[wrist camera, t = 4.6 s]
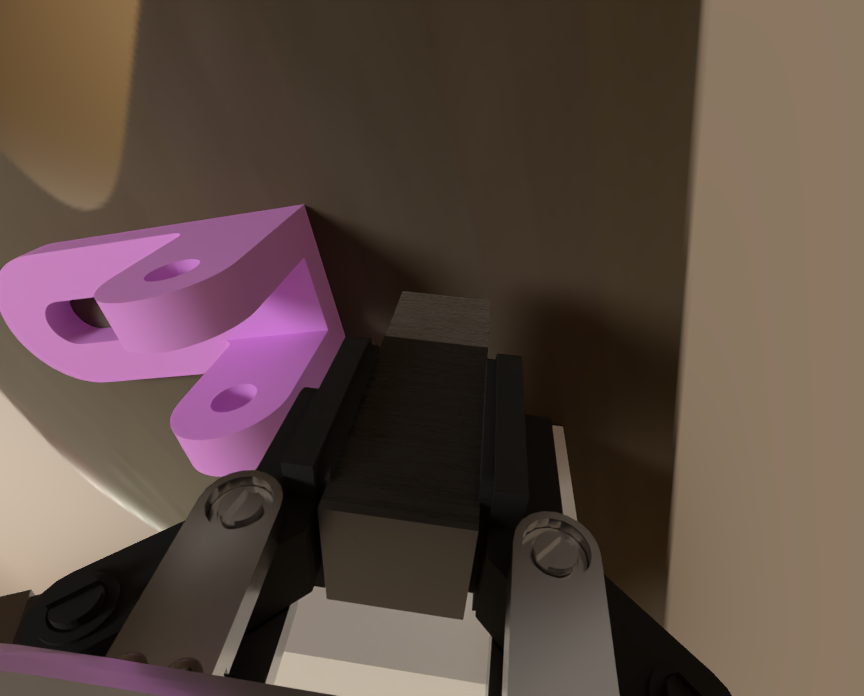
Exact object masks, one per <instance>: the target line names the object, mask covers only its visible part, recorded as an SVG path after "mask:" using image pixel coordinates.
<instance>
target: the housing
mask: <svg viewBox="0 0 864 696" xmlns="http://www.w3.org/2000/svg"><path fill="white" fill-rule="evenodd" d="M552 427H553V435H554V443H555V452H556V460H557V468H558V476H559V484H560V492H561V500H562V508H563V514H564V515H567V516H569V517H571V518H573V519H574V520H576V521H577V516H576V509H575V503H574V496H573V489H572V483H571V476H570V470H569V463H568V456H567V450H566V443H565V437H564V430H563V426H555V425H552ZM472 600H473V593H469V592H468V595H467V601H466V606H465V612H464V618H463V620H459V619H453V618H446V617H440V616H433V615H427V614H420V613H414V612H407V611H401V610H394V609H388V608H382V607H375V606H369V605H362V604H356V603H349V602H343V601H336V600H330V599H327V598H326V588H322V587H316V586H314V588H313V591H312V592H311V593H309V594H307V595H306V596H304V597H303V598H301V599H299V600H298V606H297V610H296V614H295V617H294V620H293V623H292V627H291V630H290V633H289V636H288V640H287V643H286V646H285V650H284V653H283V656H282V659H281V663H280V666H279V669H278V672H277V676H276V679H275V682H274V685H277V686H283V687H289V688H295V689H301V690H307V691H313V692H319V693H325V694H331V695H336V696H485V688H486V674H487V660H488V646H489V636H490V634H489V633H488V632H487V630H486V629H485V628H484V627H483V625H482V624H481V623H480V622H479V621H478V619H477V618H476V617H475V613H476V611H472Z"/></svg>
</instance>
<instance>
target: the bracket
mask: <svg viewBox="0 0 864 696" xmlns="http://www.w3.org/2000/svg"><path fill="white" fill-rule="evenodd" d="M92 297H94V298H95V300H96V302H97V303H98V305H99V307H100V308H101V310H102V312H103V313H104V315H105V317H106V319H107V320H108V322H109V324H110V325H111V327H110V328H96V327H93V326H90V325H88V324H87V323H85V322H83V321H82V320H81V319H80V318H79V317H78V316H77V315H76V314H75V313H74V311H73V310H72V308H71V305H70V301H69V300H76V299H84V298H92ZM0 312H1V314H2V316H3V318H4V320H5V322H6V324H7V325H8V327H9V328H10V330H11V331H12V333H13V334H14V335H15V336H16V338H17V339H18V340H19V341H20V342H21V343H22V344H23V345H24V346H25V347H26V348H27V349H28V350H29V351H30V352H31V353H32V354H34V355H35V356H36V357H37V358H39V359H40V360H42V361H43V362H44V363H46V364H47V365H49V366H51V367H52V368H54V369H56V370H58V371H60V372H62V373H64V374H67V375H69V376H72V377H75V378H78V379H81V380H85V381H91V382H113V381H125V380H137V379H149V378H161V377H172V376H184V375H196V374H204V375H203V376H202V377H201V378H200V380H199V381H198V382H197V383H196V384H195V385H194V386H193V387H192V389H191V390H190V391H189V392H188V393H187V394H186V395H185V397H184V398H183V399H182V400H181V401H180V402H179V403H178V405H177V406H176V408H175V409H174V411H173V413H172V415H171V418H170V426H171V429H172V431H173V432H174V434H175V436H176V438H177V439H178V441H179V443H180V444H181V446H182V448H183V449H184V451H185V453H186V455H187V456H188V458H189V460H190V461H191V463H192V465H193V466H194V468H195V469H196V470H198V471H199V472H201V473H203V474H206V475H210V476H219V477H220V476H226V475H228V474H230V473H234V472H238V471H243V470H254V469H257V467H258V465H259V464H260V462H261V460H262V458H263V456H264V455H265V453H266V451H267V449H268V448H269V446H270V444H271V442H272V441H273V439H274V437H275V435H276V433H277V432H278V430H279V428H280V426H281V425H282V423H283V421H284V419H285V417H286V416H287V414H288V412H289V410H290V409H291V407H292V405H293V403H294V402H295V400H296V398H297V396H298V394H299V393H300V391H301V390H302V389H303V388H305V387H310V388H318V389H319V387H320V385H321V383H322V381H323V379H324V377H325V375H326V373H327V371H328V369H329V367H330V366H331V364H332V362H333V360H334V358H335V356H336V354H337V352H338V350H339V348H340V346H341V344H342V342H343V340H344V338H345V334H344V330H343V327H342V324H341V321H340V318H339V314H338V311H337V308H336V305H335V302H334V298H333V295H332V292H331V289H330V286H329V282H328V279H327V276H326V273H325V270H324V266H323V263H322V260H321V257H320V254H319V250H318V247H317V244H316V241H315V238H314V234H313V231H312V228H311V225H310V222H309V218H308V215H307V212H306V209H305V206H304V204H303V205H297V206H290V207H284V208H277V209H271V210H264V211H258V212H251V213H245V214H238V215H232V216H225V217H219V218H212V219H206V220H200V221H193V222H187V223H180V224H174V225H167V226H161V227H154V228H148V229H141V230H135V231H128V232H122V233H115V234H109V235H102V236H96V237H90V238H83V239H77V240H70V241H64V242H57V243H51V244H47V245H44V246H42V247H39V248H37V249H35V250H33V251H31V252H29V253H26V254H24V255H22V256H20V257H18V258H15V259H13V260H12V261H10V262H8V263H7V264H6V265H5V266H4V267H3V268H2V269H1V271H0Z"/></svg>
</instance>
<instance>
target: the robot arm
mask: <svg viewBox="0 0 864 696" xmlns="http://www.w3.org/2000/svg"><path fill="white" fill-rule="evenodd" d="M379 353H380V352H379V346H376V345H372V342H371V339H370V338H361V337H353V336H346V337H345V338H344V340H343V342H342V344H341V346H340V348H339V350H338V352H337V354H336V356H335V358H334V360H333V362H332V364H331V366H330V367H329V369H328V371H327V373H326V375H325V377H324V379H323V381H322V383H321V385H320V387H319V389H318V388H310V387H305V388H303V389H302V390H301V391H300V393H299V394H298V396H297V398H296V400H295V402H294V403H293V405H292V407H291V409H290V410H289V412H288V414H287V416H286V417H285V419H284V421H283V423H282V425H281V426H280V428H279V430H278V432H277V433H276V435H275V437H274V439H273V441H272V442H271V444H270V446H269V448H268V449H267V451H266V453H265V455H264V456H263V458H262V460H261V462H260V464H259V465H258V467H257V469H256V470H243V471H238V472H234V473H230V474H228V475H226V476H223V477H221V478H219V479H217V480H216V481H215V482H213V483H212V484H211V485H209V486H208V487H207V488H206V489H205V490H204V492H203V493H202V494H201V495H200V497H199V498H198V500H197V501H196V503H195V505H194V506H193V508H192V510H191V512H190V513H189V515H188V517H187V518H186V520H185V521H183V522H181V523H179V524H176V525H174V526H172V527H170V528H168V529H166V530H163V531H161V532H159V533H157V534H155V535H153V536H150V537H148V538H146V539H144V540H142V541H140V542H137V543H135V544H133V545H131V546H129V547H126V548H124V549H122V550H120V551H118V552H116V553H113V554H111V555H109V556H107V557H105V558H103V559H100V560H98V561H96V562H94V563H92V564H90V565H87V566H85V567H83V568H81V569H79V570H76V571H74V572H73V573H70V574H69V575H67V576H65V577H64V578H62V579H60V580H58V581H56V582H55V583H54V584H53V585H52V586H51V587H49V588H48V589H47V590H46V591H44V592H43V593H42V594H40V595H34V593H33V592H32V590H27V591H23V592H18V593H14V594H10V595H6V596H1V597H0V696H336V695H331V694H325V693H319V692H313V691H307V690H301V689H295V688H289V687H283V686H277V685H274V682H275V679H276V676H277V672H278V669H279V666H280V663H281V659H282V656H283V653H284V650H285V646H286V643H287V640H288V636H289V633H290V630H291V627H292V623H293V620H294V617H295V614H296V610H297V606H298V600H299V599H301V598H303V597H304V596H306V595H307V594H309V593H311V592H312V591H313V588H314V586H316V587H322V588H325V578H324V568H323V559H322V549H321V539H320V529H319V520H318V510H317V508H318V505H319V503H320V500H321V498H322V495H323V493H324V490H325V488H326V485H327V482H330V480H331V477H332V475H333V472H334V469H335V467H336V464H337V462H338V459H339V456H340V454H341V451H342V449H343V446H344V443H345V441H346V438H347V436H348V433H349V431H350V428H351V425H352V423H353V420H354V418H355V415H356V412H357V410H358V407H359V405H360V402H361V399H362V397H363V394H364V392H365V389H366V387H367V384H368V381H369V379H370V376H371V374H372V371H373V368H374V366H375V363H376V361H377V358H378V355H379ZM479 503H480V512H479V531H478V537H477V543H476V549H475V554H474V560H473V566H472V572H471V578H470V583H469V589H468V592H469V593H473V600H472V611H476V613H475V617H476V618H477V619H478V621H479V622H480V623H481V624H482V625H483V627H484V628H485V629H486V630H487V632H488V633H489V634H490V636H489V646H488V660H487V674H486V688H485V696H732V695H731V694H730V692H729V691H728V689H727V688H726V687H725V686H724V684H723V683H722V682H721V681H720V680H719V679H718V678H717V677H716V676H715V675H714V674H713V673H712V672H711V671H710V670H709V669H708V668H707V667H706V666H705V665H704V664H702V663H701V662H700V661H699V660H698V659H697V658H696V657H695V656H693V655H692V654H691V653H690V652H689V651H688V650H687V649H686V648H685V647H684V646H683V645H681V644H680V643H679V642H678V641H677V640H676V639H675V638H674V637H673V636H671V635H670V634H669V633H668V632H667V631H666V630H665V629H664V628H663V627H662V626H660V625H659V624H658V623H657V622H656V621H655V620H654V619H653V618H652V617H650V616H649V615H648V614H647V613H646V612H645V611H644V610H643V609H642V608H641V607H639V606H638V605H637V604H636V603H635V602H634V601H633V600H632V599H631V598H629V597H628V596H627V595H626V594H625V593H624V592H623V591H622V590H621V589H619V588H618V587H617V586H616V585H615V584H614V583H613V582H612V581H611V580H610V579H608V578H607V577H606V576H605V575H604V573H603V566H602V558H601V553H600V550H599V547H598V543H597V542H596V540H595V539H594V537H593V536H592V534H591V533H590V531H588V530H587V529H586V528H585V527H584V526H583V525H582V524H581V523H580V522H578V521H576V520H574V519H573V518H571V517H569V516H567V515H564V514H563V508H562V500H561V492H560V484H559V476H558V468H557V460H556V452H555V443H554V435H553V427H552V422H551V419H550V418H547V417H539V416H531V415H525V409H524V391H523V373H522V357H521V356H513V355H505V354H497V356H496V360H493V359H487V362H486V373H485V391H484V410H483V429H482V448H481V466H480V485H479Z"/></svg>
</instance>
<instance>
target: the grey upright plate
mask: <svg viewBox="0 0 864 696" xmlns="http://www.w3.org/2000/svg"><path fill="white" fill-rule="evenodd" d="M489 314H490V300H482V299H473V298H464V297H455V296H446V295H436V294H427V293H418V292H409V291H403V292H402V294H401V297H400V299H399V302H398V304H397V307H396V309H395V312H394V314H393V317H392V320H391V322H390V325H389V327H388V330H387V332H386V335H385V337H384V340H383V342H382V345H381V348H380V350H379V352H380V353H379V355H378V358H377V361H376V363H375V366H374V368H373V371H372V374H371V376H370V379H369V381H368V384H367V387H366V389H365V392H364V394H363V397H362V399H361V402H360V405H359V407H358V410H357V412H356V415H355V418H354V420H353V423H352V425H351V428H350V431H349V433H348V436H347V438H346V441H345V443H344V446H343V449H342V451H341V454H340V456H339V459H338V462H337V464H336V467H335V469H334V472H333V475H332V477H331V480H330V482H327V485H326V488H325V490H324V493H323V495H322V498H321V500H320V503H319V505H318V508H317V510H318V520H319V529H320V539H321V549H322V559H323V568H324V578H325V588H326V598H327V599H330V600H336V601H343V602H349V603H356V604H362V605H369V606H375V607H382V608H388V609H394V610H401V611H407V612H414V613H420V614H427V615H433V616H440V617H446V618H453V619H459V620H463V618H464V612H465V606H466V601H467V595H468V589H469V583H470V578H471V572H472V566H473V560H474V554H475V549H476V543H477V537H478V531H479V512H480V503H479V485H480V466H481V448H482V429H483V410H484V391H485V373H486V362H487V353H488V333H489Z"/></svg>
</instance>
